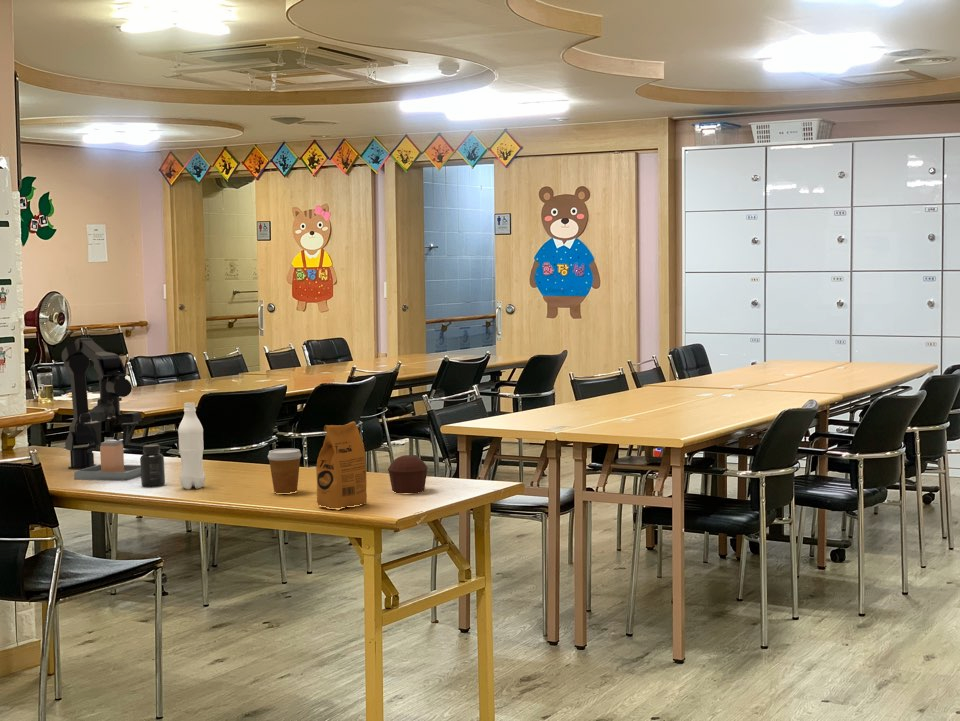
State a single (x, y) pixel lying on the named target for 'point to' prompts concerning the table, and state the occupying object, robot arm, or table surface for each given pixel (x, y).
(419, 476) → the muffin
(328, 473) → the coffee package
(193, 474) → the water bottle
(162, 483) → the supplement bottle
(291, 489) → the disposable coffee cup
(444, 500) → the table surface
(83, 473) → the tray
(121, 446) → the tall box
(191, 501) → the table surface
